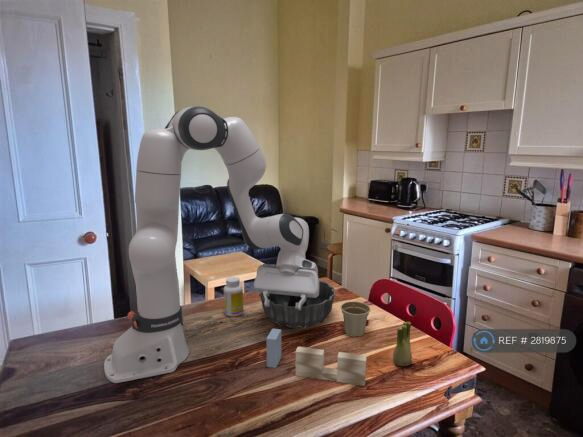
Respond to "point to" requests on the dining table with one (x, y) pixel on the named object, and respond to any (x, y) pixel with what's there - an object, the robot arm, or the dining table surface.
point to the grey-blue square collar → (273, 348)
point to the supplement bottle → (233, 297)
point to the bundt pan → (310, 310)
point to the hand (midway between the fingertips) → (282, 307)
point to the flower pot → (355, 317)
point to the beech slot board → (347, 371)
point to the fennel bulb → (403, 346)
